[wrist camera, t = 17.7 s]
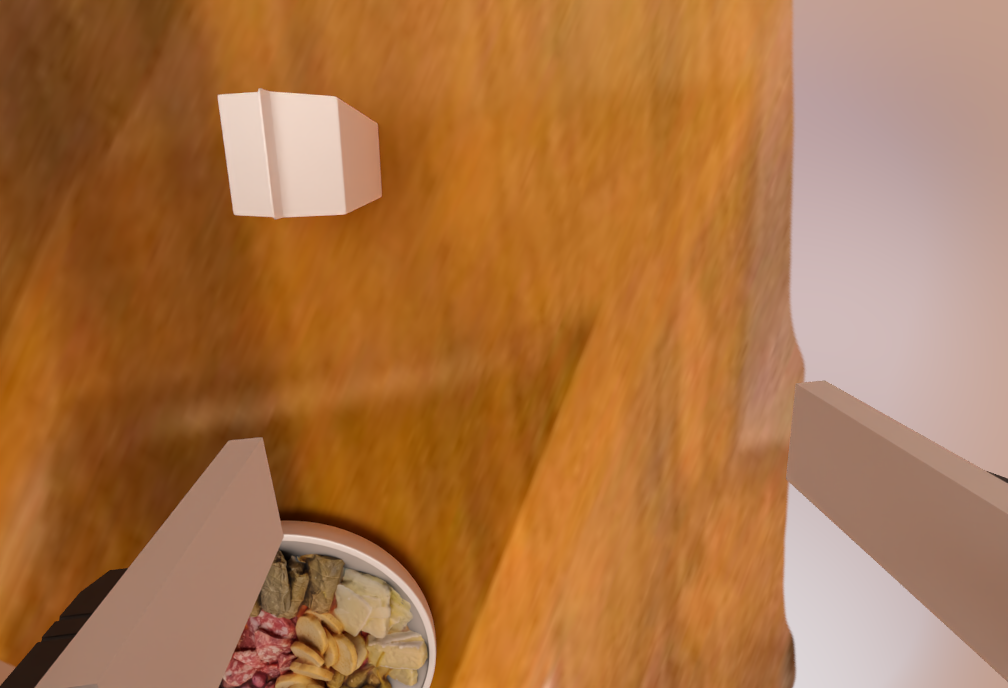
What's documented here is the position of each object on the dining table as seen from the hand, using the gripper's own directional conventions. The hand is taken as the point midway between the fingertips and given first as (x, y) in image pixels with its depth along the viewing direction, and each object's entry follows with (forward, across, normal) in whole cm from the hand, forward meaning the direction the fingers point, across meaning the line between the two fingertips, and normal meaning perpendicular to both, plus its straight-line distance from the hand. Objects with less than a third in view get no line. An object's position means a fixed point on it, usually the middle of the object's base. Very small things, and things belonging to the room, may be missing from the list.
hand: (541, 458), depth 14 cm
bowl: (+39, -22, -39) cm, 60 cm away
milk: (+39, -10, +8) cm, 41 cm away
